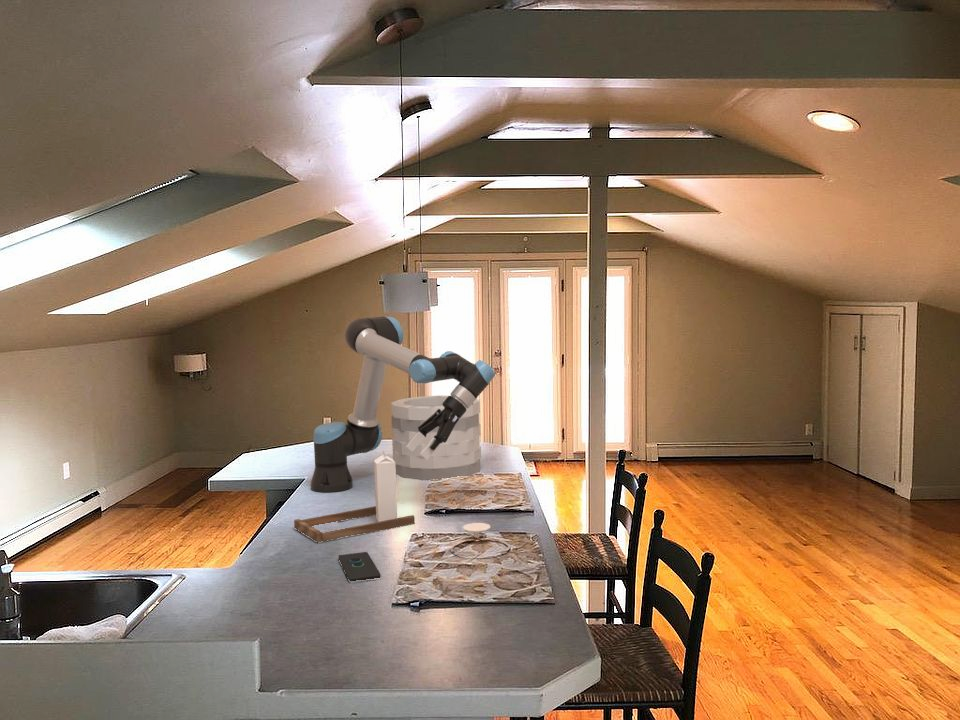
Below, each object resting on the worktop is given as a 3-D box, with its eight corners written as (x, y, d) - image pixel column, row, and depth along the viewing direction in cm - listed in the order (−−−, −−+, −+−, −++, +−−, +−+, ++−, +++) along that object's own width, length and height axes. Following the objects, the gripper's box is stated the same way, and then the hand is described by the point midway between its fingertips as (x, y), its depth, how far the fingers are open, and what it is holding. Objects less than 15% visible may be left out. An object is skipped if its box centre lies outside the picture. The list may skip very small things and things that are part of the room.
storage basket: (482, 459, 355) (480, 394, 352) (480, 479, 320) (478, 407, 317) (398, 461, 356) (396, 396, 353) (387, 481, 321) (384, 409, 318)
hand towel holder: (452, 546, 228) (445, 524, 248) (452, 562, 228) (446, 539, 248) (514, 542, 230) (503, 520, 250) (515, 558, 230) (504, 535, 250)
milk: (394, 517, 272) (392, 448, 270) (397, 522, 266) (395, 452, 264) (375, 518, 271) (373, 450, 269) (378, 523, 265) (376, 453, 263)
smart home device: (367, 551, 234) (381, 574, 215) (367, 557, 235) (382, 581, 216) (337, 554, 232) (349, 578, 213) (337, 560, 232) (349, 585, 213)
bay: (294, 529, 261) (294, 519, 261) (387, 511, 279) (387, 502, 278) (317, 543, 246) (317, 533, 246) (414, 523, 264) (414, 514, 264)
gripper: (481, 414, 265) (438, 467, 261) (451, 404, 288) (411, 453, 283) (465, 399, 262) (421, 452, 258) (436, 390, 285) (395, 439, 281)
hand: (416, 453), depth 271 cm, fingers open, 13 cm apart
